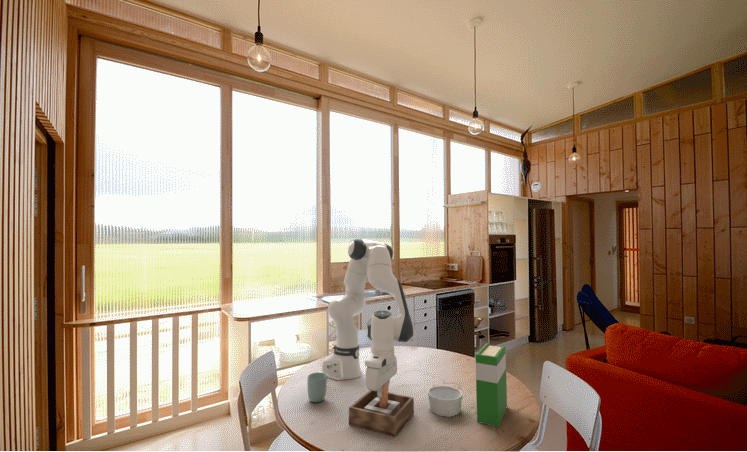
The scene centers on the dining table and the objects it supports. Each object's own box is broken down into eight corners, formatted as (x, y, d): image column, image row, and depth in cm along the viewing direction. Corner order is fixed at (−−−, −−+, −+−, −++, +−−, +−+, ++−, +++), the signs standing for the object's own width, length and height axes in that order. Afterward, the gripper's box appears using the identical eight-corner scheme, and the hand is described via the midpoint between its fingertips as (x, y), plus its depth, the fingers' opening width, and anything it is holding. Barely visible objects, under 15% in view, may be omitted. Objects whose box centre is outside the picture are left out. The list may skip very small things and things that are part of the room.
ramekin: (456, 422, 123) (455, 402, 123) (422, 413, 130) (422, 394, 130) (467, 408, 134) (466, 389, 135) (435, 400, 141) (435, 383, 142)
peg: (377, 412, 125) (377, 378, 126) (381, 408, 128) (381, 375, 129) (385, 413, 123) (385, 379, 124) (389, 410, 126) (388, 377, 127)
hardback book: (487, 403, 138) (486, 342, 140) (507, 407, 134) (505, 345, 136) (477, 421, 123) (475, 354, 125) (498, 427, 119) (496, 357, 121)
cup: (329, 397, 143) (329, 373, 144) (320, 405, 136) (321, 380, 137) (313, 395, 146) (313, 371, 147) (303, 403, 139) (304, 377, 139)
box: (348, 424, 121) (348, 407, 122) (371, 404, 137) (371, 388, 138) (395, 437, 113) (394, 418, 114) (413, 413, 129) (413, 397, 130)
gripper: (386, 347, 138) (386, 382, 137) (362, 362, 119) (362, 403, 118) (400, 349, 135) (401, 385, 134) (378, 365, 117) (379, 407, 116)
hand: (383, 394), depth 126 cm, fingers closed on peg, 3 cm apart
